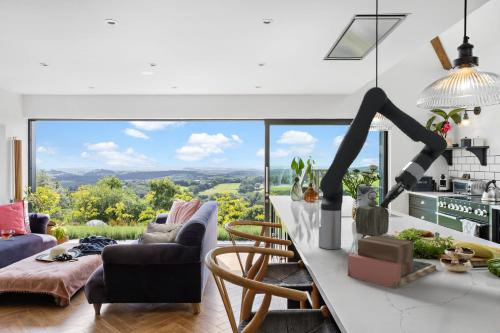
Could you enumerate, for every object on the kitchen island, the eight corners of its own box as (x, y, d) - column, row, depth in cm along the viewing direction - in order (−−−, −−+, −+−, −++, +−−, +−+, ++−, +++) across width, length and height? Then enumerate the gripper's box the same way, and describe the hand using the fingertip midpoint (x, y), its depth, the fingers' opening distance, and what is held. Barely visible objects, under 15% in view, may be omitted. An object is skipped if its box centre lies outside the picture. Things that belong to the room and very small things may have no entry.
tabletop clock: (374, 239, 191) (375, 190, 191) (389, 242, 184) (390, 191, 183) (355, 242, 183) (356, 191, 183) (370, 245, 176) (371, 192, 175)
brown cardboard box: (374, 262, 138) (375, 235, 138) (412, 270, 127) (413, 241, 127) (357, 268, 130) (357, 239, 129) (396, 278, 119) (397, 246, 119)
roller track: (391, 260, 150) (391, 242, 150) (436, 269, 137) (436, 250, 137) (347, 275, 128) (348, 255, 128) (396, 288, 116) (396, 266, 116)
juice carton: (376, 231, 212) (377, 183, 211) (371, 234, 203) (372, 184, 203) (360, 229, 217) (361, 183, 216) (355, 232, 208) (355, 184, 207)
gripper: (396, 173, 157) (369, 202, 154) (408, 165, 144) (379, 197, 141) (411, 185, 155) (384, 215, 153) (424, 178, 142) (394, 211, 140)
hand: (381, 206), depth 147 cm, fingers closed
